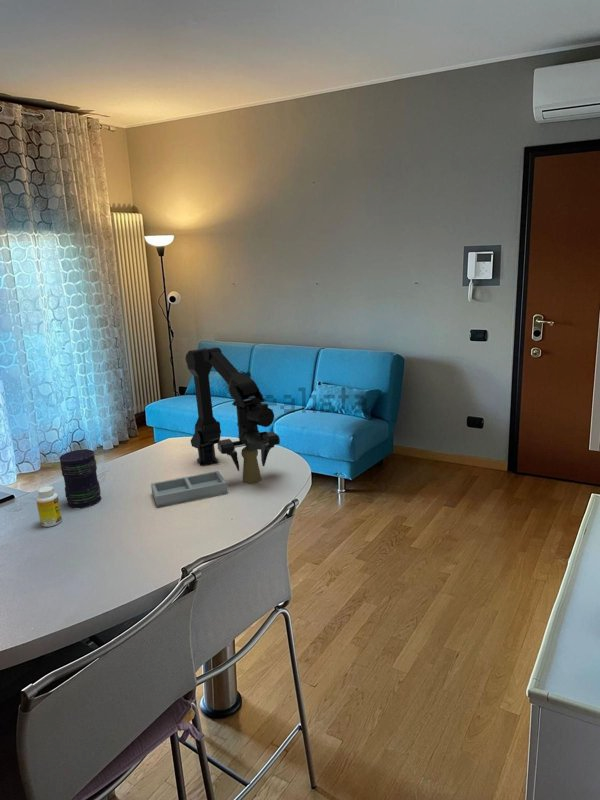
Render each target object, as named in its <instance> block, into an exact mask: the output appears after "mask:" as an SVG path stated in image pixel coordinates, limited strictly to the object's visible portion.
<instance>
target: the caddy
mask: <svg viewBox="0 0 600 800" xmlns="http://www.w3.org/2000/svg"><path fill="white" fill-rule="evenodd" d="M150 487H151V494H152V498H153V500H154V502H155V505H156V508H157V509H158V508H164V507H168V506H173V505H177V504H182V503H188V502H192V501H193V502H194V501H197V500H202V499H207V498H213V497H217V496H218V497H219V496H223V495H226V494H227V495H228V494H229V491H228V483H227V480H226V479H225V477H223V475H222V474H221V472H220V471H219V470H215V471H210V472H203V473H199V474H193V475H188V476H184V477H178V478H173V479H167V480H163V481H156V482H152V483H150Z"/></svg>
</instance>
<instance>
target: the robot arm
mask: <svg viewBox="0 0 600 800" xmlns="http://www.w3.org/2000/svg"><path fill="white" fill-rule="evenodd" d="M185 362H186V367H187V370H189V372H190V373H191V375H192V376H193V381H194V391H195V397H196V398H195V399H196V407H197V409H196V410H197V416H198V418H197V420H196V422H195V425H194V433H193V436H192V437H191V438H190V445H191V447H193V448H195V449H197V454H198V458H196V462H197V463H198V464H199V466H205V465H211V464H217V463H219V459H218V458H217V457H216V448H215V445H217V450H218V451H219V452H220V454H222V455H227V456H230V457H231V459H232V461H233V464H234V465H235V467H236V470H237V472H240V464H239V459H238V452H237V451H236V448H241V447H246V448H247V450H248V451H253V450H258V451H259V450H260V457H261V465H262V467H265V465H266V462H267V458H268V455H269V454H270V453H269V452H270V450H271V449H273V448H275V445H276V446H277V445H279V444H281V441H280V436H279V435H278V434H277V433H276V432H275V431H261V432H260V431H259V427H258V426H260V427H264V428H268V427H270V426H271V425H272V424H273V423H274V420H275V413H274V411H273V410H272V409H271V408H269V404H268V403H264V402H265V399H264V397H263V396H264V395H263V394H262V392H261V390H260V389H259V388H258V384H257V383H256V382H255V380H254V379H252V377H249V376H248V375H246V374H243V373H241V372H239V370H238V369H236V367H235V366H234V365H233V364H232V363H231V362H230V360H229V359H228V358H227V357H226V356H225V355H224V354H223V352H222V350H221V348H220V347H218V346H217V347H216V346H214V347H209V348H207V347H204V348H198V349H197V348H196V349H192V350H188V351H187V353H186V354H185ZM212 369H214V370H216V372H217V373H218V374H219V375H220V377H221V378H222V380H224V381H225V382H226V384H227V385H228V387H227V388H228V393H230V395H231V397H232V398H233V400H234V401H233V402H232V406H234V407H236V416H237V417H236V418H237V424H236V425H237V429H238V436H237V437H238V440H236V441H235V440H234V441H232V440H231V439H230V438H226V439H221V435H222V434H221V433H222V430H221V423H220V421H217V420H216V419H217V418H215V417H214V414H213V412H214V411H213V404H212V403H213V402H212V395H211V385H210V383H211V382H210V376H209V375H210V373H211V371H212Z"/></svg>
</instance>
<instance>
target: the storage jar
mask: <svg viewBox="0 0 600 800" xmlns="http://www.w3.org/2000/svg"><path fill="white" fill-rule="evenodd" d="M59 462H60V469H61V474H62V477H63V480H64V481H63V482H64V485H65V486H64V492H65V499H66V501H67V507H68V506H69V507H68V508H70V507H71V508H70V509H74V508H80V509H86V508H89V506H90V507H93V506H95V505H97V504H99V503H100V502H101V501H102V496H101V487H100V482H99V480H98V475H97V469H98V468H97V461H96V456H95V452H94V450H92V449H86V448H85V449H77V450H72V451H71V450H70V451H67V452H66V453H63V454H61V456H59ZM85 507H86V508H85Z"/></svg>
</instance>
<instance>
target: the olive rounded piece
mask: <svg viewBox="0 0 600 800" xmlns="http://www.w3.org/2000/svg"><path fill="white" fill-rule="evenodd" d="M240 454H241V456H242V458H243V464H242V465H243V466H242V483H244V484H246V485H253V484H258V483H260V482H262V476H261V470H260V466H259V461H258V454H259V449H257V450H253V451H248V450H247V448H246V446H243V448H242V449H241V452H240Z"/></svg>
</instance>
